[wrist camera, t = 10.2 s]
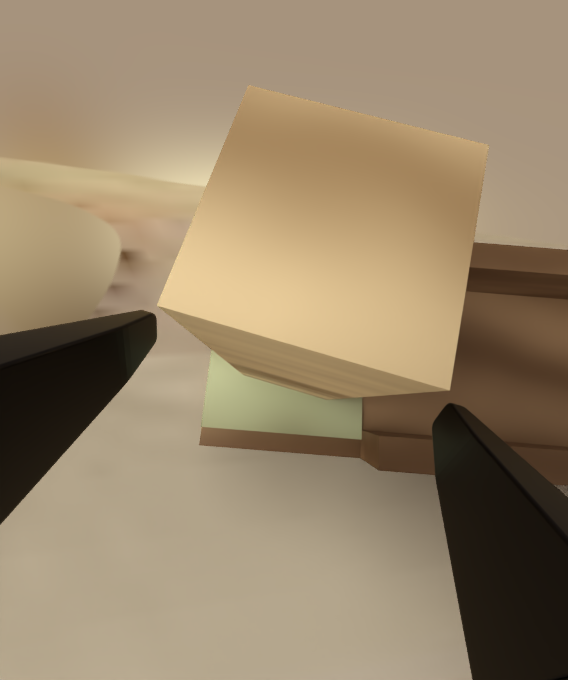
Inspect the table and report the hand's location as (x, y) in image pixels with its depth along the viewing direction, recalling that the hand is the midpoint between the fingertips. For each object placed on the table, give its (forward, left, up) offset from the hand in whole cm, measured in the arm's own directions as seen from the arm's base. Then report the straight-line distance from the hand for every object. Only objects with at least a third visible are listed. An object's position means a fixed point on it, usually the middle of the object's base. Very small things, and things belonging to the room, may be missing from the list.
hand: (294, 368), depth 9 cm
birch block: (+2, 0, -8) cm, 8 cm away
